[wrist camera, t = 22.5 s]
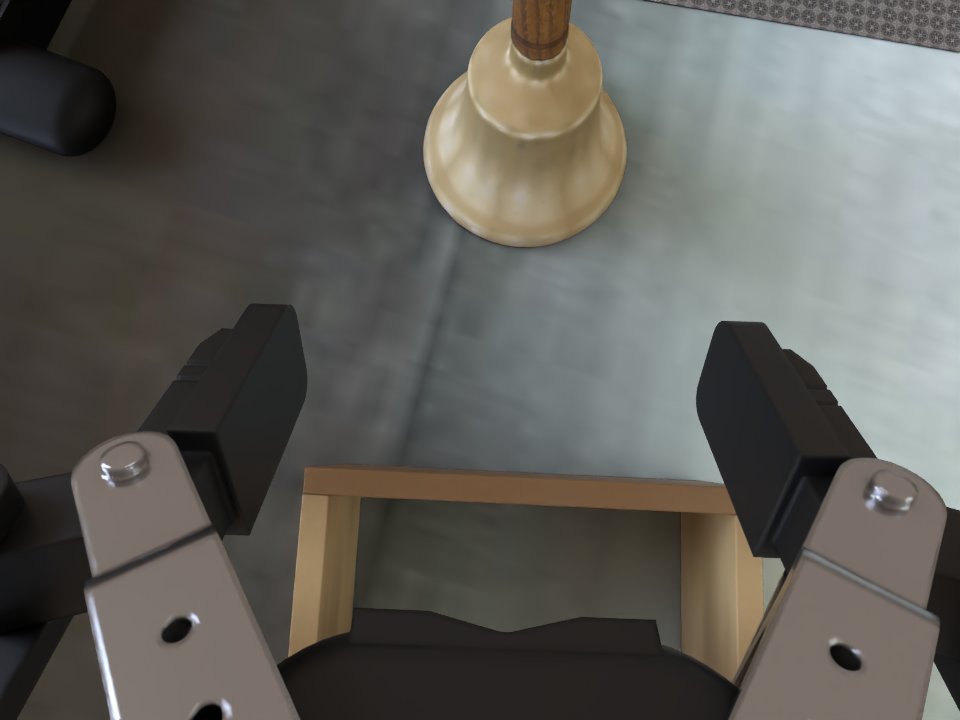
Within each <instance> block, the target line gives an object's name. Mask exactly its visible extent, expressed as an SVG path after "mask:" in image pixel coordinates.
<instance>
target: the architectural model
mask: <svg viewBox="0 0 960 720" xmlns="http://www.w3.org/2000/svg"><path fill="white" fill-rule="evenodd" d="M649 1H655V2H661V3H667V4H673V5H679V6H685V7H691V8H697V9H703V10H709V11H715V12H721V13H728V14H734V15H740V16H746V17H752V18H758V19H764V20H770V21H776V22H782V23H788V24H794V25H800V26H806V27H812V28H818V29H824V30H830V31H836V32H842V33H848V34H854V35H860V36H866V37H872V38H879V39H885V40H891V41H897V42H903V43H909V44H915V45H921V46H927V47H933V48H939V49H945V50H951V51H957V52H960V0H649Z"/></svg>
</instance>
